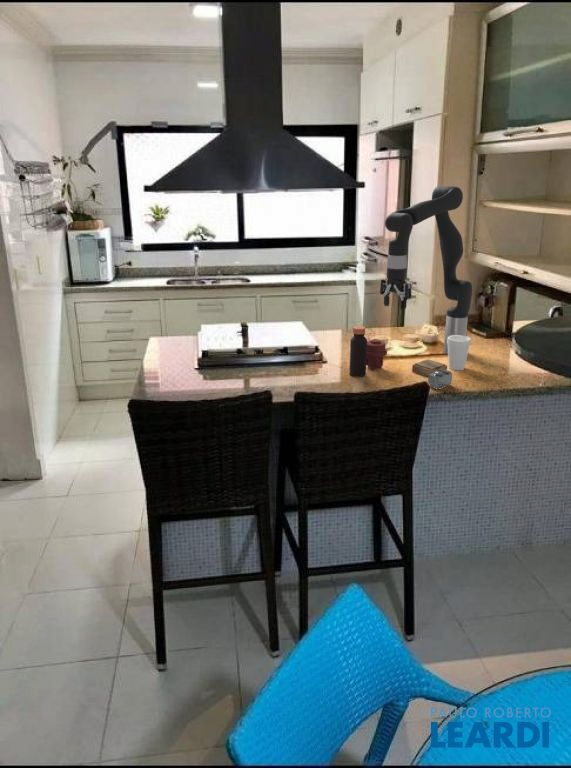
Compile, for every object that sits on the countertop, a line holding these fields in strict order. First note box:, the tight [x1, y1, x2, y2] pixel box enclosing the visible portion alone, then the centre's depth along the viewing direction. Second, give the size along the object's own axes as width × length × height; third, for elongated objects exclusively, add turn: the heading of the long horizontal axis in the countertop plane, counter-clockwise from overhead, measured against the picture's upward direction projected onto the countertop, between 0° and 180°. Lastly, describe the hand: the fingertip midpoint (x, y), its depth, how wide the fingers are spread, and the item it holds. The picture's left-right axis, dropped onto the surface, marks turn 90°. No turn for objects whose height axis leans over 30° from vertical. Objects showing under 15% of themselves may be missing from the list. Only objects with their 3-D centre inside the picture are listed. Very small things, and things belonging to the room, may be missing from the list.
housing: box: [427, 369, 453, 390], centre depth 234 cm, size 8×5×6 cm, turn 129°
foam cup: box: [447, 335, 472, 371], centre depth 252 cm, size 10×9×13 cm
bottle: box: [349, 325, 368, 378], centre depth 244 cm, size 7×7×20 cm
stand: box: [412, 359, 448, 378], centre depth 249 cm, size 10×10×4 cm
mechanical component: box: [366, 338, 388, 372], centre depth 253 cm, size 12×10×10 cm
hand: (394, 307), depth 238 cm, fingers open, 8 cm apart
